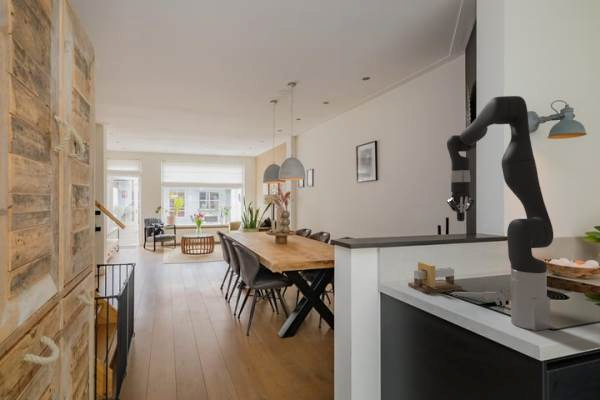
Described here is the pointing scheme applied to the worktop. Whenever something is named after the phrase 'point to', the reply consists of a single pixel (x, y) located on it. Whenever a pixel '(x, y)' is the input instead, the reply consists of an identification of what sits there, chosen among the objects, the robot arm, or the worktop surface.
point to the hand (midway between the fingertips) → (460, 221)
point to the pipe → (438, 273)
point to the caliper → (485, 296)
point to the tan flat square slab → (428, 273)
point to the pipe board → (439, 285)
